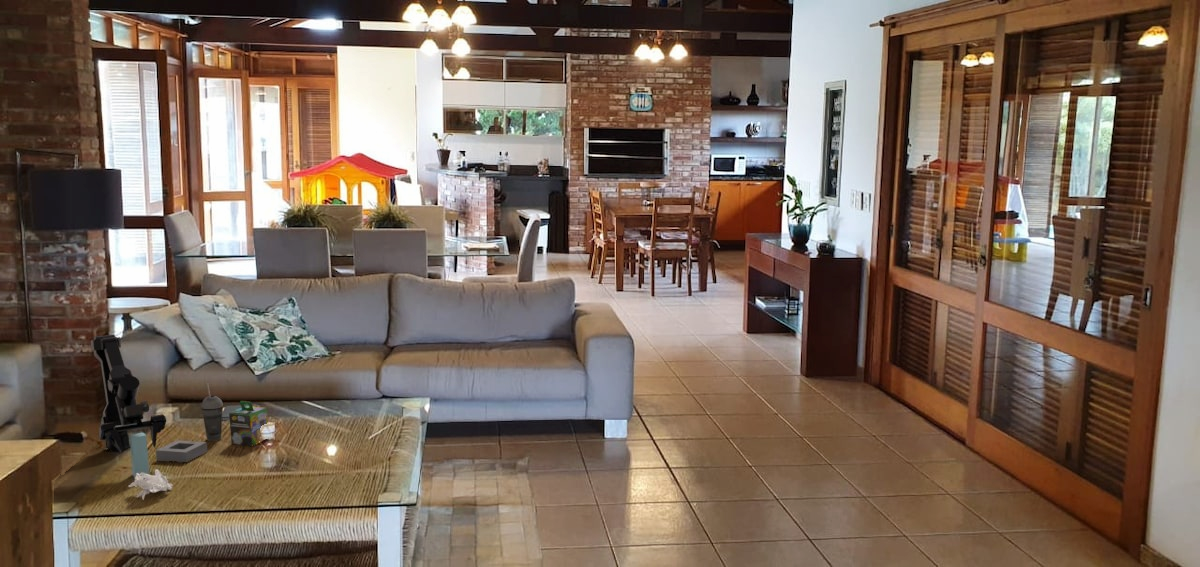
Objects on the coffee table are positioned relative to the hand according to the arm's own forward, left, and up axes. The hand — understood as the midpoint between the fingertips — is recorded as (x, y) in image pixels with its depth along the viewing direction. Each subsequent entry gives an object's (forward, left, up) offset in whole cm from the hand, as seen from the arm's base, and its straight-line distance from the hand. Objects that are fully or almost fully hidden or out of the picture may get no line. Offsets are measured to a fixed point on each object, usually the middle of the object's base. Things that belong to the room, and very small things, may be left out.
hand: (138, 449), depth 293 cm
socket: (+1, +19, -8) cm, 21 cm away
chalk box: (+14, +38, -9) cm, 41 cm away
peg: (0, 0, -8) cm, 8 cm away
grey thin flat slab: (-11, +70, -9) cm, 71 cm away
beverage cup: (0, +38, -8) cm, 39 cm away
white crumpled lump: (+15, -13, -9) cm, 22 cm away
